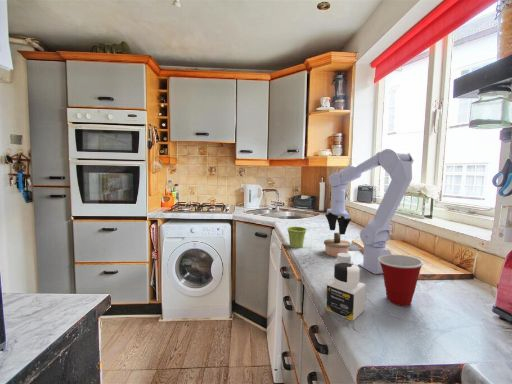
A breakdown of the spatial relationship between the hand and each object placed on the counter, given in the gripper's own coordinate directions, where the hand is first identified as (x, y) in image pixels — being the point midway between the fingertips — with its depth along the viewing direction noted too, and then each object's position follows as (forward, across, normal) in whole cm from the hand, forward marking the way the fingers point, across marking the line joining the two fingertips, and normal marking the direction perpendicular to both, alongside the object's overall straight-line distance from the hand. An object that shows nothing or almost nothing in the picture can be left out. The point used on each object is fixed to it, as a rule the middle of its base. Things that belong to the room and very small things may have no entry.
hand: (337, 232), depth 107 cm
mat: (+10, +7, -10) cm, 16 cm away
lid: (+5, 0, 0) cm, 5 cm away
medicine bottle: (+10, -40, +22) cm, 47 cm away
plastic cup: (+10, -39, +5) cm, 41 cm away
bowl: (+10, 0, 0) cm, 10 cm away
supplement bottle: (+10, -28, +15) cm, 33 cm away
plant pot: (+10, +15, +12) cm, 22 cm away
